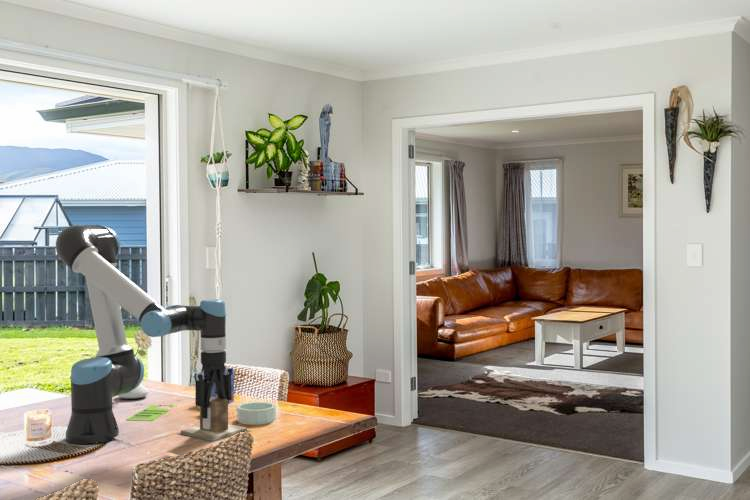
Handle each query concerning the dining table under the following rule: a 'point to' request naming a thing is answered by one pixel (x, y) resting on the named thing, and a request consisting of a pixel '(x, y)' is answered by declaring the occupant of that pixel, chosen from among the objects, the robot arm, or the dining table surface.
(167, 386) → the dining table surface
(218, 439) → the mat
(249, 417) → the bowl
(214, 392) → the ink cartridge box
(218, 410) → the lid
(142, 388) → the flower in vase
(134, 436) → the dining table surface
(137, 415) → the door hanger
